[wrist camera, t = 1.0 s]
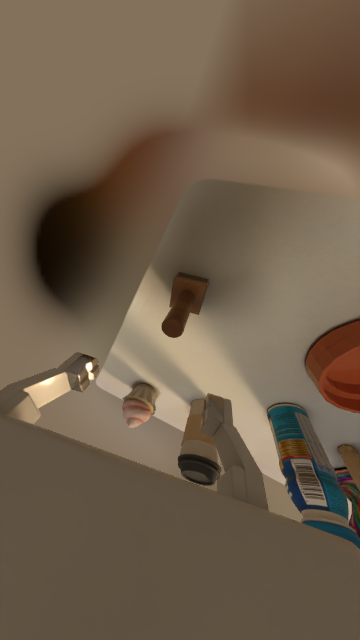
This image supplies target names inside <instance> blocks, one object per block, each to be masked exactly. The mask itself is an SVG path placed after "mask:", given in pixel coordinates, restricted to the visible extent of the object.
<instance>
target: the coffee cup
mask: <svg viewBox="0 0 360 640" xmlns="http://www.w3.org/2000/svg"><path fill="white" fill-rule="evenodd" d="M203 402H204V399H197V400H194V401H193V402H192V405H191V409H190V413H189V417H188V420H187V424H186V428H185V432H184V436H183V440H182V448H181V452H180V456H179V457H178V466H179V468H180V469H181V473H182V475H183V477H184V478H186V479H187V480H189V481H191V482H193V483H196V484H199V485H204V486H211V485H214V484H215V481H216V480H218V479H219V478H220V472H221V467H220V459H219V454H218V451H217V449H216V446H215V443H214V440H213V438H212V436H209V435H207V434H204V433H201V432H200V424H201V419H202V414H201V413H202V406H203Z"/></svg>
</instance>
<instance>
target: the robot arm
mask: <svg viewBox="0 0 360 640" xmlns="http://www.w3.org/2000/svg"><path fill="white" fill-rule="evenodd" d="M97 363H98V359H97V358H93V357H91V356H88V355H85V354H82V353H78V352H77V353H75V354H74V355H72V356H71V357H70V358H69V359H68V360H66V361H65V362H64V363H63V364H62V365H60V366H59V367H58V368H57V369H56V368H54V369H51V370H48V371H45V372H43V373H40V374H37V375H34V376H32V377H29V378H26V379H23V380H21V381H18V382H15V383H12V384H10V385H8V386H6V387H5V388H3V389H2V390H1V391H0V640H360V549H359V548H358V547H357V546H356V545H354V544H353V543H352V542H350V541H348V540H346V539H344V538H341V537H338V536H336V535H333V534H330V533H328V532H325V531H322V530H319V529H317V528H314V527H311V526H308V525H306V524H303V523H300V522H298V521H295V520H292V519H289V518H287V517H284V516H281V515H279V514H276V513H273V512H270V511H269V510H268V504H267V499H266V493H265V488H264V482H263V477H262V473H261V471H260V469H259V468H258V466H257V464H256V462H255V461H254V459H253V457H252V455H251V454H250V452H249V450H248V448H247V447H246V445H245V443H244V441H243V440H242V438H241V436H240V434H239V433H238V431H237V429H236V427H233V419H232V406H231V401H230V400H229V399H225V398H222V397H220V396H216V395H213V394H209V393H208V394H207V396H206V400H204V402H203V406H202V413H201V414H202V419H201V424H200V432H201V433H204V434H207V435H209V436H212V438H213V440H214V443H215V446H216V449H217V451H218V454H219V457H220V459H221V462H222V465H223V467H224V470H225V473H224V474H223V475H222V476H221V477H220V478H219V479H218V480H217V492H216V491H213V490H211V489H208V488H205V487H202V486H200V485H197V484H194V483H192V482H189V481H186V480H183V479H181V478H178V477H175V476H173V475H170V474H167V473H164V472H161V471H159V470H156V469H153V468H151V467H148V466H145V465H143V464H140V463H137V462H135V461H132V460H129V459H126V458H124V457H121V456H118V455H116V454H113V453H110V452H107V451H104V450H102V449H99V448H96V447H94V446H91V445H88V444H86V443H83V442H80V441H77V440H75V439H72V438H69V437H67V436H64V435H61V434H58V433H56V432H53V431H50V430H47V429H45V428H42V427H39V426H36V425H34V423H35V422H36V421H37V419H38V418H39V417H40V412H39V410H38V408H40V407H41V406H43V405H45V404H46V403H48V402H50V401H52V400H54V399H55V398H57V397H59V396H61V395H62V394H64V393H66V392H68V391H70V390H71V389H73V390H76V391H80V392H83V391H84V390H85V389H86V388H87V387H88V385H89V382H90V380H93V379H94V378H95V377H96V376H97V374H98V372H99V366H98V365H97Z"/></svg>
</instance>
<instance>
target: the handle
mask: <svg viewBox="0 0 360 640" xmlns="http://www.w3.org/2000/svg"><path fill="white" fill-rule="evenodd" d="M338 450H339V452H340V454H342V458H343V461H344V463H345V465H346V467H347V469H348V471H349V473H350V475H351V477H352V479H353V481H354V482H355V484H356V486H357V487H358V489H359V491H360V456H359V455H358V453H357V451H356V450H355V449H354V448H352V447H351V446H350V445H341V447H338Z"/></svg>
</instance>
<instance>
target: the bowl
mask: <svg viewBox="0 0 360 640" xmlns="http://www.w3.org/2000/svg"><path fill="white" fill-rule="evenodd" d="M306 368H307V373H308V374H309V376H310V377H311V379H312V381H313V382H314V384H315V385H316V387H317V389H318V390H319V392H320V393H321V395H322V396H323V397H324V398H325V400H326V401H327V402H329V403H331V404H333V405H334V406H336V407H338V408H340V409H344V410H347V411H350V412H354V413H360V321H356V322H353V323H350V324H348V325H345V326H343V327H340V328H338V329H336V330H334V331H332V332H331V333H329V334H328V335H326V336H325V337H323V338H322V339H320V340H319V341H318V342H317V343H316V344H315V346H314V347H313V348H312V349H311V350H310V351H309V354H308V357H307V360H306Z"/></svg>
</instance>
